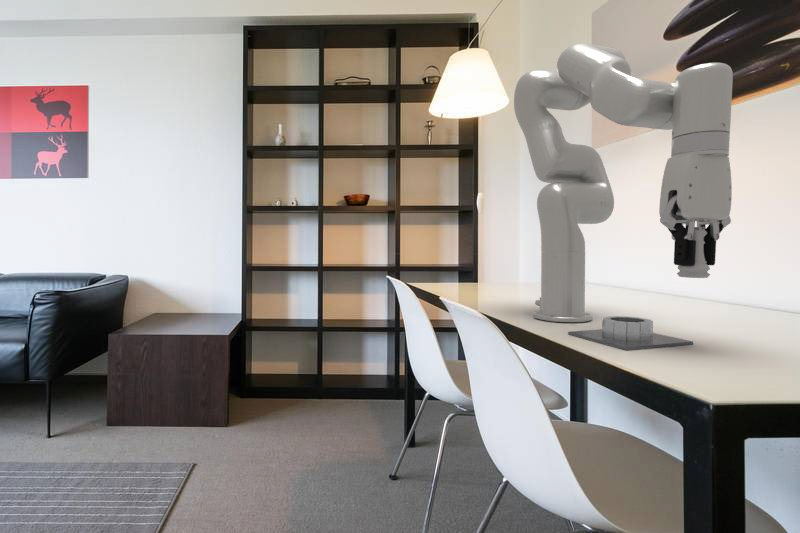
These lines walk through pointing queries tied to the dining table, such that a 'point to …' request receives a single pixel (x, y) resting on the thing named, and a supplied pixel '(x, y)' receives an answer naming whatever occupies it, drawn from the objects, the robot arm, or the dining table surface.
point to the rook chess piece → (696, 258)
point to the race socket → (629, 334)
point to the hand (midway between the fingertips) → (694, 263)
